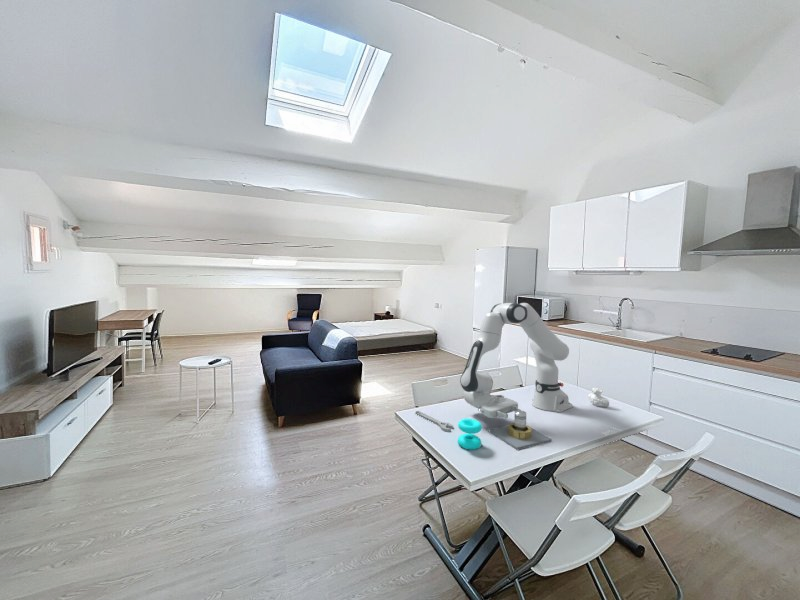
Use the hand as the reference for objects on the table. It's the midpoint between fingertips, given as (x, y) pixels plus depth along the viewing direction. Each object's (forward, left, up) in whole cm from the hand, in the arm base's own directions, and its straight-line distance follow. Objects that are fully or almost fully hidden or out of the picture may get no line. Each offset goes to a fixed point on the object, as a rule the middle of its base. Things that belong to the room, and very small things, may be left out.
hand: (513, 414), depth 154 cm
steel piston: (-1, +3, -8) cm, 9 cm away
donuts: (+25, +2, -9) cm, 27 cm away
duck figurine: (-70, -8, -9) cm, 71 cm away
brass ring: (-1, +4, -9) cm, 10 cm away
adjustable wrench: (+28, -25, -10) cm, 39 cm away
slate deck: (-1, +4, -9) cm, 10 cm away
